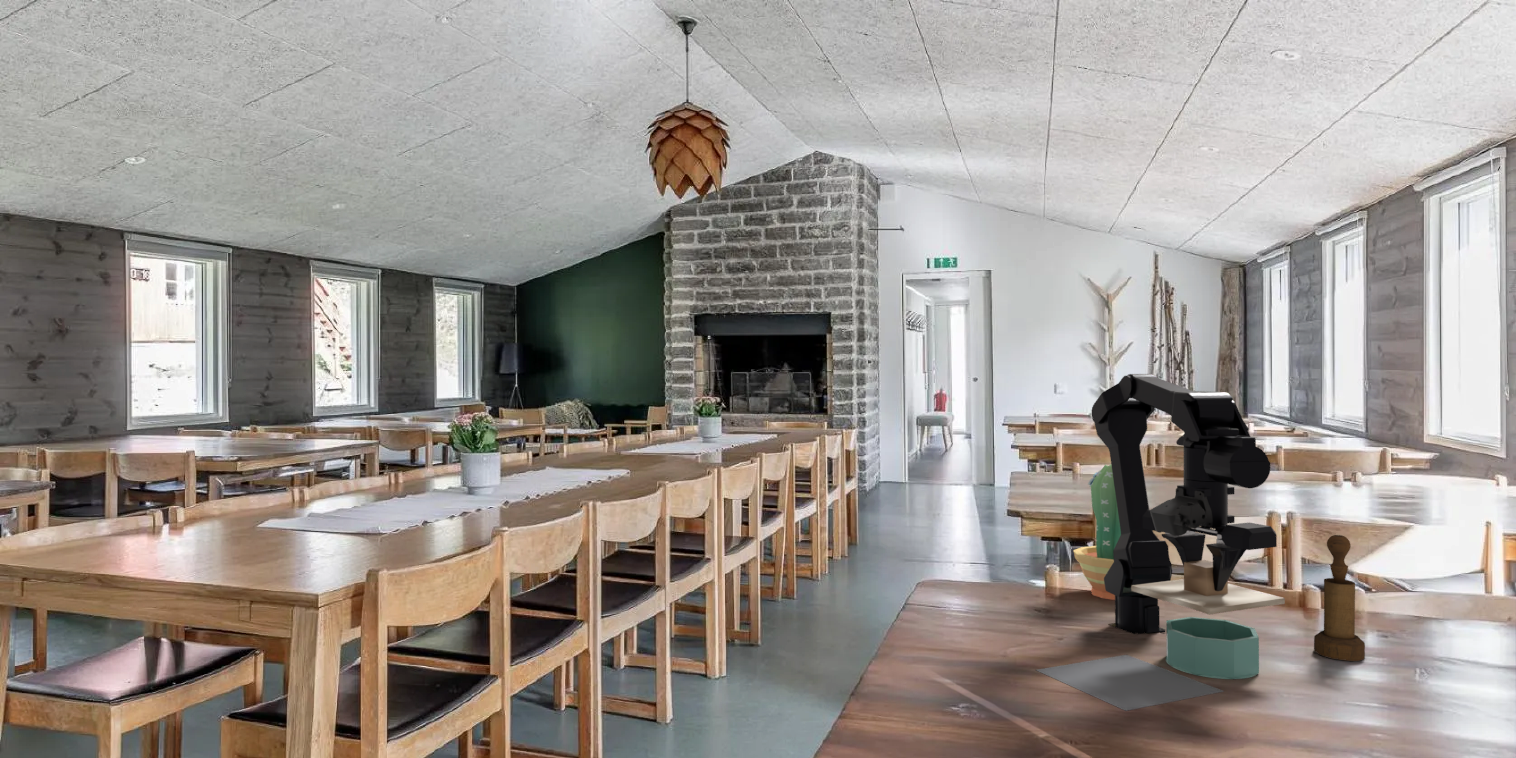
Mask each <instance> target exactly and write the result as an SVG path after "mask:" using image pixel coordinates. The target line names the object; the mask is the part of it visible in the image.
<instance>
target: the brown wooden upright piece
mask: <svg viewBox="0 0 1516 758" xmlns="http://www.w3.org/2000/svg"><path fill="white" fill-rule="evenodd" d="M1326 547H1327V549H1328V551H1329V552H1330V554H1331V555H1332V563H1331V564H1330V565H1329V567H1330V571H1331V575H1332V577H1327V578H1323V597H1324V599H1323V604H1324V605H1323V630H1321V631H1319V632H1318V633H1317V634H1315V635H1314V637H1313V651H1314V652H1315V653H1316V654H1317V655H1320V656H1322V657H1326V658H1329V659H1332V660H1339V661H1340V660H1341V661H1349V662H1359V661H1363V660H1364V659H1365V658H1366V652H1365V651H1366V644H1365V641H1364V640H1362V639H1361V638H1360V637H1359V636H1358V635H1356V633H1355V630H1356V629H1355V628H1356V627H1355V626H1356V625H1355V624H1356V623H1355V622H1356V621H1355V619H1356V618H1355V617H1356V612H1355V611H1356V610H1355V609H1356V606H1355V605H1356V604H1355V603H1356V582H1355V581H1352V580H1349V579H1346V578H1347V574H1348V570H1349V566H1348V565H1347V564H1346V563H1345V559H1346V556H1347V554H1348V553H1349V552H1350V550H1351V541H1350V540H1349V538H1347V537H1346V536H1345V535H1342V534H1332V535H1331V536H1330V537H1328V539H1327V541H1326Z"/></svg>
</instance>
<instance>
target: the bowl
mask: <svg viewBox="0 0 1516 758" xmlns="http://www.w3.org/2000/svg"><path fill="white" fill-rule="evenodd" d="M1165 623H1166V626H1165V627H1166V628H1165V633H1166V656H1165V662H1166V664H1168V666H1170V667H1172V669H1173V668H1174V669H1176V670H1178V671H1181V672H1184V673H1187V674H1190V675H1194V676H1198V677H1204V678H1205V677H1206V678H1209V679H1211V678H1212V679H1219V680H1221V679H1223V680H1241V679H1242V680H1243V679H1249V678H1252V677H1255V676H1257V675H1258V674H1260V638H1259V635H1258V633H1257V631H1256V629H1255V627H1251V626H1248V625H1245V624H1241V623H1238V622H1234V621H1231V620H1228V619H1227V620H1226V619H1220V618H1219V619H1218V618H1205V617H1195V616H1188V617H1187V616H1186V617H1180V618H1175V619H1174V618H1173V619H1169V620H1166V621H1165Z"/></svg>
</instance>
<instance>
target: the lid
mask: <svg viewBox="0 0 1516 758" xmlns="http://www.w3.org/2000/svg"><path fill="white" fill-rule="evenodd" d="M1131 591H1134V592H1137V593H1140V594H1144V595H1147V596H1150V597H1153V598H1157V599H1158V600H1161V601H1163V602H1167V603H1170V604H1174V605H1177V606H1180V607H1182V608H1183V607H1184V608H1187V609H1190V610H1194V611H1196V612H1201V613H1202V614H1203V613H1204V614H1207V615H1210V616H1211V615H1216V614H1223V613H1230V612H1231V613H1232V612H1236V611H1245V610H1250V609H1257V608H1258V609H1259V608H1265V607H1271V606H1278V605H1285V602H1286V599H1285V597H1282V596H1278V595H1275V594H1272V593H1271V594H1270V593H1268V592H1262V591H1259V590H1255V589H1251V588H1247V587H1243V586H1239V585H1236V584H1232V583H1229V580H1228V581H1227V582H1226V584H1225V586H1224V588H1223V590H1222V591H1215V589H1214V582H1213V561H1211V560H1205V559H1202V560H1200V561H1191V562H1184V566H1183V578H1180V579H1173V580H1172V579H1171V580H1170V581H1163V582H1155V583H1147V584H1139V585H1131Z"/></svg>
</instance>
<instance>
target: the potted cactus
mask: <svg viewBox="0 0 1516 758" xmlns="http://www.w3.org/2000/svg"><path fill="white" fill-rule="evenodd" d="M1087 485H1089V487H1090V493H1091V507H1092V509H1093V514H1094V516H1095V519H1096V520H1095V521H1096V522H1095V523H1096V524H1095V525H1096V530H1095V533H1096V534H1095V535H1096V538H1095V542H1096V543H1095V545H1093V546H1092V545H1090V546H1081V547H1078V548H1076V549H1073V554H1074V559H1075V560H1076V561H1077V562H1078V563H1079V565H1080V569H1081V571H1082V574H1083V576H1084V577H1085V579H1086V580H1087V581H1088V583H1089V585H1090V586H1091V591H1090V593H1091V592H1092V593H1091V594H1092V596H1094V597H1098V598H1101V599H1106V600H1113V601H1115V595H1113V594H1111V593H1109V592H1107V591H1106V589H1105V583H1104V577H1105V575H1106V574H1107V572H1108V571H1109V569H1110V567H1111V566H1112V564H1113V563H1114V556H1113V551H1114V548H1115V546H1116V544H1117V542H1118V540H1119V538H1120V536H1121V530H1120V522H1119V515H1118V508H1117V501H1116V494H1115V487H1114V480H1113V473H1112V466H1111V463H1110V464H1109V465H1107V464H1104V466H1103V467H1102V468H1101V470H1099V471H1096V472H1095V473H1094V474H1092V478H1090V479H1089V481H1088V482H1087Z"/></svg>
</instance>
